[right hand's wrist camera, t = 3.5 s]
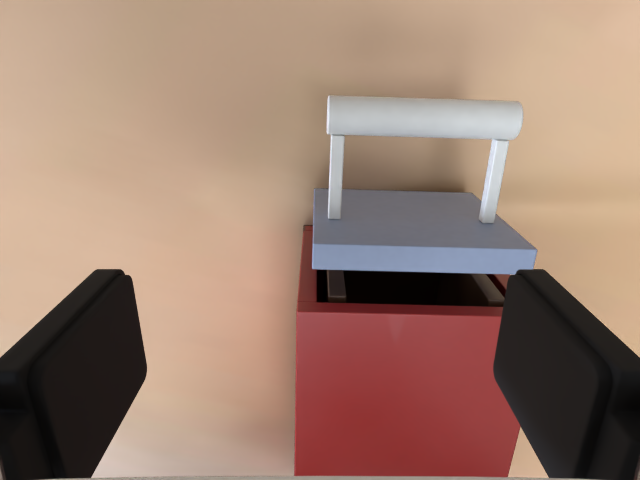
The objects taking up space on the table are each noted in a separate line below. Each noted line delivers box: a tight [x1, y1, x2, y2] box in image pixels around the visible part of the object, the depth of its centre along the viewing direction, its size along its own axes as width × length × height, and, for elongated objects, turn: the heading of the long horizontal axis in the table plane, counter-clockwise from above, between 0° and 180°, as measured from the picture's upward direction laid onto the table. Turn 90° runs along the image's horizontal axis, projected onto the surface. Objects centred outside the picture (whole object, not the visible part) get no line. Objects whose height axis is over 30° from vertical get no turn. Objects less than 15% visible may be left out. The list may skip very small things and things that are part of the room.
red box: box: [294, 225, 520, 477], centre depth 28 cm, size 21×11×10 cm, turn 178°
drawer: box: [312, 95, 537, 307], centre depth 25 cm, size 26×9×9 cm, turn 178°
